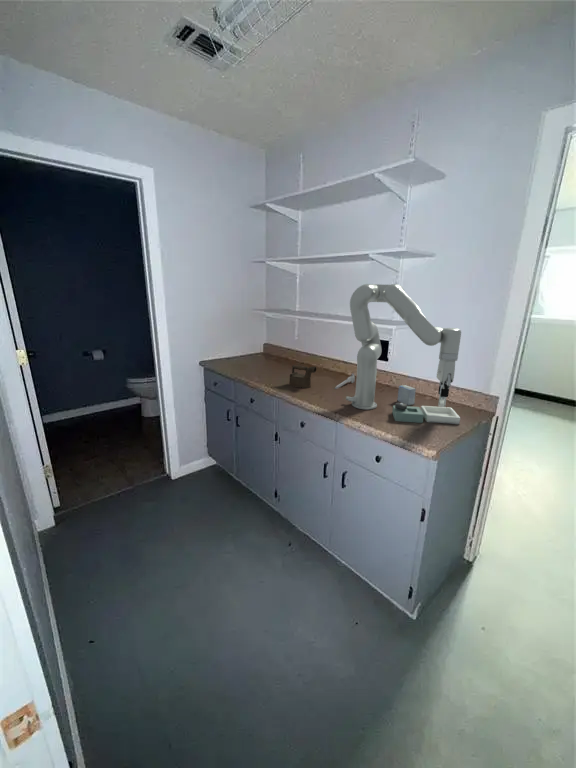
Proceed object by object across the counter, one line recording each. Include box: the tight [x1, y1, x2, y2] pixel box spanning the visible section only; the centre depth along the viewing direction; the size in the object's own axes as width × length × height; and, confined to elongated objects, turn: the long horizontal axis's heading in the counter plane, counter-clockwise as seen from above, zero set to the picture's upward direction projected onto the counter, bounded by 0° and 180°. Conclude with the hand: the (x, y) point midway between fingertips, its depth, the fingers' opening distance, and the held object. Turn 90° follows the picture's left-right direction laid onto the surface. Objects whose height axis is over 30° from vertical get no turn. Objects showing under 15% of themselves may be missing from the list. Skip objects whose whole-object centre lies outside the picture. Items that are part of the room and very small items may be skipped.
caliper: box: [333, 372, 356, 390], centre depth 204 cm, size 20×1×6 cm, turn 137°
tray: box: [420, 405, 461, 425], centre depth 155 cm, size 14×13×3 cm
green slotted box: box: [391, 402, 424, 424], centre depth 154 cm, size 12×10×7 cm
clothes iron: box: [289, 364, 317, 389], centre depth 200 cm, size 8×16×13 cm, turn 56°
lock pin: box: [437, 384, 447, 407], centre depth 152 cm, size 3×3×10 cm
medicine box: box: [397, 384, 417, 406], centre depth 174 cm, size 8×4×9 cm, turn 26°
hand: (443, 395), depth 152 cm, fingers closed on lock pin, 3 cm apart
